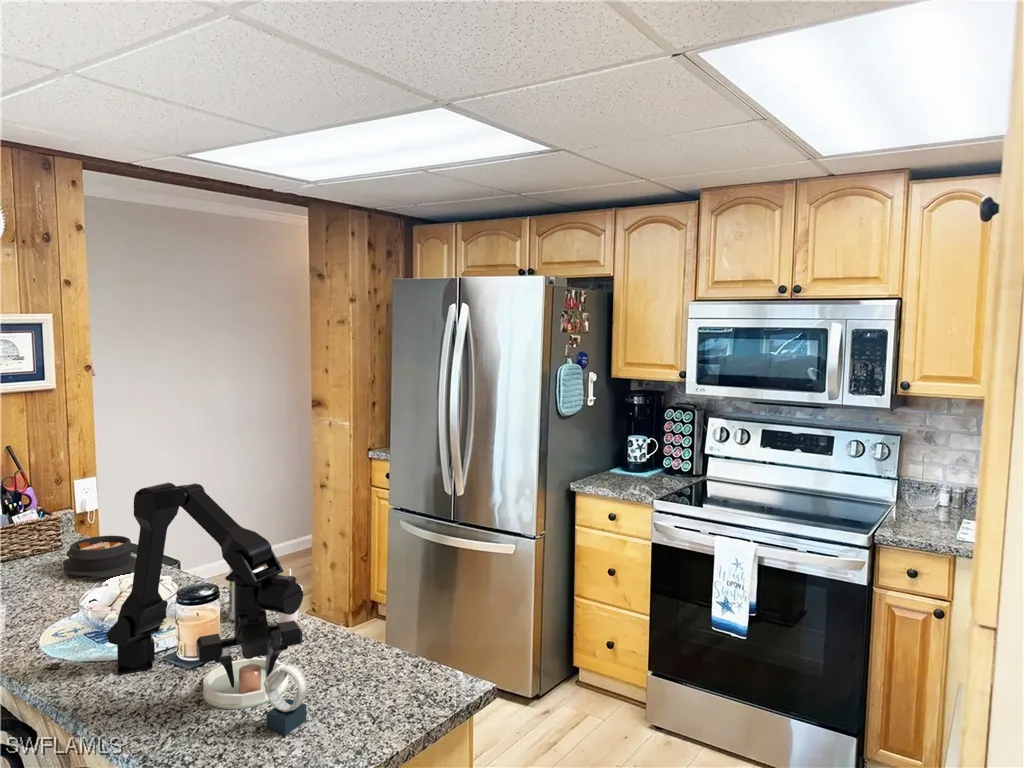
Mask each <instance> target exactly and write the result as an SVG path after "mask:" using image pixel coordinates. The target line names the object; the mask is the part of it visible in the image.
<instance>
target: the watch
mask: <svg viewBox="0 0 1024 768" xmlns="http://www.w3.org/2000/svg"><path fill="white" fill-rule="evenodd" d="M287 675H288V676H289V675H290V676H291V677H292V679H293V680H294V682H295V683H296V686H297V692H296V693H297V694H295V696H294V700H293V699H290V698H287V699H286V700H284V699H283V697H282V695H280V694H279V692H278V689H277V687H279V686H280V684H281V683H282V682H283V681H284V680H285V678H286V677H287ZM307 683H308V682H307V679H306V676H305V674H304V672H303V670H301V668H299V667H298V666H297V665H295V664H292V663H287V664H285V663H284V664H282V665H280V666H278V667H277V668H275V669H274V670H273V671H272V672H271V673H270V674H269V675H268V677H267V678H266V680H265V681H264V687H265V692H266V694H267V696H268V698H269V700H270V704H271V705H272V706H273V708H272V709H271V710H269V711H267V712H266V721H265V722H266V730H267V731H269V732H272V733H275V734H279V735H281V736H284V737H286V736H287V735H288V734H290V733H292V732H293V731H294V730H296V729H297V728H298V727H300V726H301V725H302V724H304V723H305V722H307V704H306V703H303V702H304V701H305V699H306V697H307V693H308V684H307ZM272 696H273V697H272Z"/></svg>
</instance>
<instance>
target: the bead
mask: <svg viewBox="0 0 1024 768" xmlns="http://www.w3.org/2000/svg"><path fill="white" fill-rule="evenodd" d="M259 690H261V666H260V665H257V664H249V665H245V666H243V667H241V668H240V669H239V694H245V693H250V692H254V691H259Z"/></svg>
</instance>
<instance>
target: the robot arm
mask: <svg viewBox="0 0 1024 768" xmlns="http://www.w3.org/2000/svg"><path fill="white" fill-rule="evenodd" d="M180 507H181V508H182V509H183V510H184V511H185V512H186V513H187V514H188V515H189V516H190V517H191V518H192V519H193V520H194V521H195V522H196V523H197V524H198V525H199V526H200V527H201V528H202V529H203V530H204V531H205V532H206V533H207V534H208V535H209V536H211V538H212V539H213V540H214V541H215V542H216V543H217V544H218V545H219V547H220V549H221V554H222V555H221V557H222V559H223V560H224V561H225V562H226V564H227V565H228V567H229V569H230V568H231V569H232V570H233V571H232V572H231V573H230V572H229V574H227V575H226V576H225V577H224V579H225V581H228V582H229V581H232V582H235V620H234V634H233V636H234V637H233V636H232V637H227V638H223V639H221V637H220V634H219V633H213V634H208V635H203V636H199V637H198V638H197V639H196V642H195V644H196V646H195V650H196V655H197V658H198V661H199V662H200V663H206V662H207V663H208V662H211V661H214V663H216V664H220V663H221V666H222V665H223V666H224V668H225V670H226V672H227V675H228V678H229V681H230V684H231V687H232V688H233V687H234V674H233V667H232V661H233V658H232V657H233V656H232V655H231V652H230V651H231V649H236V648H241V652H242V653H241V654H242V657H243V658H244V659H252V658H259V657H265V658H266V667H265V673H266V678H267V677H268V675H269V674H270V673H271V672H272V670H273V667H274V664H275V662H276V661H278V658H279V656H280V655H281V653H282V652H283V651H287V650H288V649H289V647H290V646H296V645H301V644H302V643H303V630H302V628H301V627H300V625H299V624H298V622H297V623H296V622H295V621H294V620H293V621H288V622H282V623H280V622H278V623H277V622H276V625H269V623H268V619H267V611H270V612H276V613H278V614H279V613H284V614H288V615H291V614H294V613H295V612H296V611H297V610H298V609H299V610H300V607H301V605H302V602H303V597H304V590H303V591H302V589H303V587H302V588H301V586H300V585H301V584H300V583H297V577H296V576H292V575H291V576H289V575H287V576H286V575H282V574H281V573H284V569H283V567H282V565H281V562H280V561H279V560H278V558H277V556H276V555H275V552H274V551H273V549H272V548H273V547H272V545H271V543H270V542H269V541H268V539H266V538H265V537H264V536H262V535H260V534H259V533H258V532H256V531H253V530H251V529H248V528H244V527H243V526H241V525H240V524H238V522H236V520H234V519H233V518H232V517H231V516H230V515H229V514H228V513H227V512H226V511H225V510H224V509H223V508H222V507H221V506H220V505H219V504H218V503H217V502H216V501H215V500H214V499H213V498H212V497H211V496H210V495H208V493H206V491H205V488H204V487H203V485H202V484H199V483H195V482H194V483H190V484H183V485H175V484H173V482H165V483H161V484H160V483H159V484H155V485H151V486H146V487H143V488H140V489H138V490H137V491H136V492H135V493H134V497H133V516H134V518H135V520H136V522H137V524H138V525H139V536H138V541H137V550H136V556H135V558H136V563H135V570H134V571H133V572H134V573H133V579H132V586H131V592H130V593H129V594H128V596H127V597H126V599H125V600H124V601H123V603H122V605H121V607H120V610H119V614H118V617H117V621H116V622H115V623H114V625H112V627H110V629H109V630H108V631H107V632H106V637H107V641H108V643H109V644H111V645H116V646H117V649H116V651H117V652H116V653H117V660H116V673H117V675H125V674H130V673H134V672H140V671H145V670H150V669H153V667H154V664H153V663H155V661H156V659H155V658H156V657H155V656H156V653H155V652H156V650H155V649H156V648H155V647H156V646H155V639H154V638H152V635H153V634H155V633H159V632H160V629H161V625H162V624H163V622H164V620H165V619H167V618H168V617H167V609H168V604H169V603H168V601H167V600H164V599H163V598H162V596H161V594H160V592H159V590H160V589H159V587H160V582H161V581H160V580H161V576H162V575H161V574H162V567H163V561H164V552H165V545H166V539H167V532H168V529H169V526H170V525H171V523H172V522H173V520H174V519H175V517H176V516H177V515H178V514H179V513H178V512H179V509H180ZM263 566H264V569H263V570H261V571H258V572H256V573H255V572H252V571H254V570H256V569H258V568H261V567H263ZM265 566H266V567H265ZM299 584H300V585H299Z"/></svg>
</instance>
